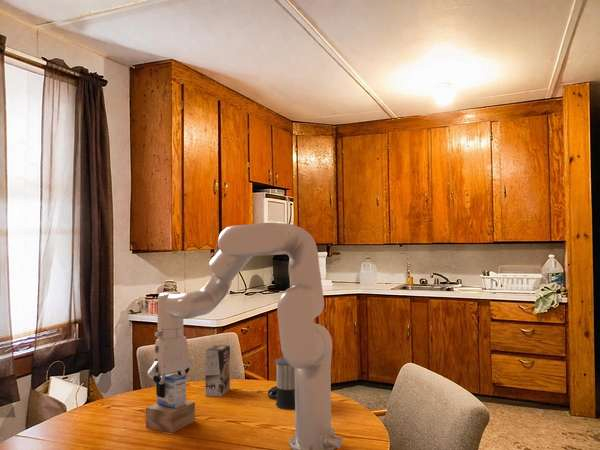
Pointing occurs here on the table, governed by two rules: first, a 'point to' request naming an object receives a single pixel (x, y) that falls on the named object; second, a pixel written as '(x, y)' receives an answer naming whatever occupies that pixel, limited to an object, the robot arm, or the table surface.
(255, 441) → the table surface
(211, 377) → the coffee box
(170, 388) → the medicine box
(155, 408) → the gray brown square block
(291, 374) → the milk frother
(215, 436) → the table surface
